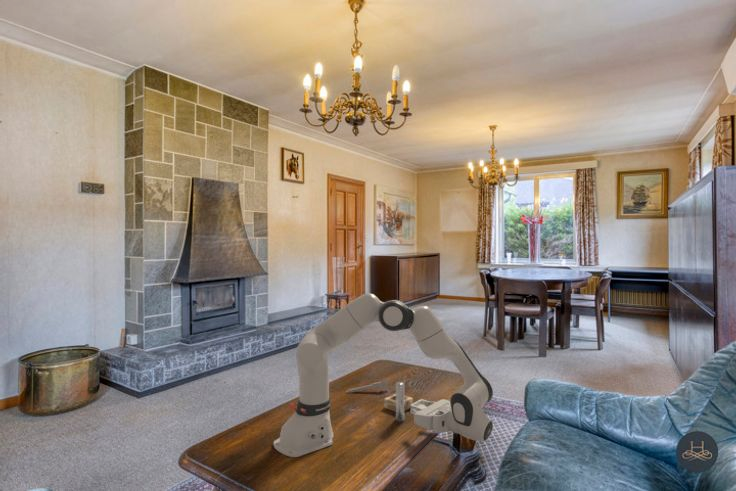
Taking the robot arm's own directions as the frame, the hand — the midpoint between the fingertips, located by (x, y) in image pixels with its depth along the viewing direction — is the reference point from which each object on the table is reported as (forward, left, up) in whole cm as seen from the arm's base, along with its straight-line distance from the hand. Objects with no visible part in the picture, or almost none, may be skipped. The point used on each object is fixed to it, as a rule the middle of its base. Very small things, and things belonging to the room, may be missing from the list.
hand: (418, 406), depth 155 cm
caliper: (+13, +40, -9) cm, 43 cm away
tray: (+15, +8, -8) cm, 19 cm away
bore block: (+9, +17, -8) cm, 21 cm away
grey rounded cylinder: (0, +9, -8) cm, 12 cm away
